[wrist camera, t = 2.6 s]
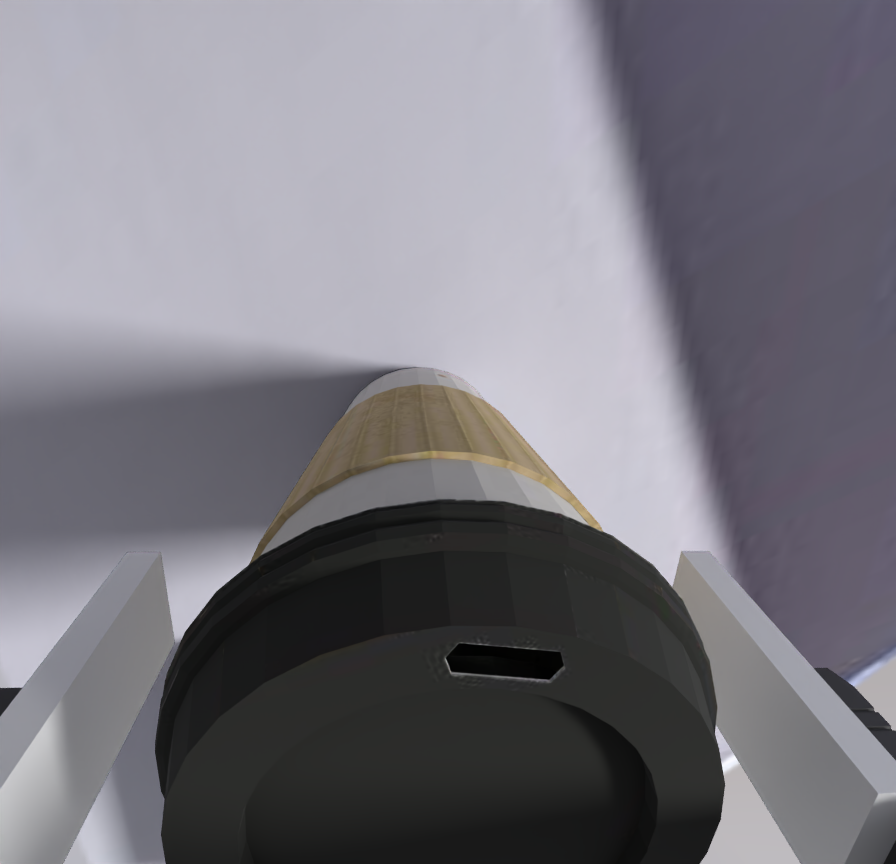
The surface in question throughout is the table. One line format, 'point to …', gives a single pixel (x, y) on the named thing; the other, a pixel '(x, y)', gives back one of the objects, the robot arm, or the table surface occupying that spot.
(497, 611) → the coffee cup
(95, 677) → the robot arm
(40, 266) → the table surface
